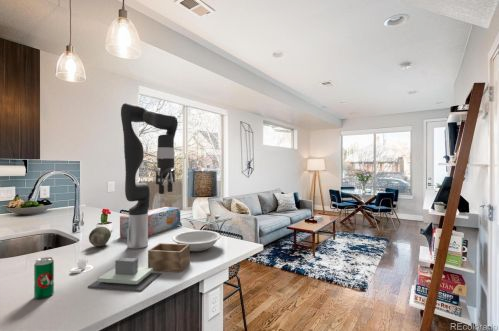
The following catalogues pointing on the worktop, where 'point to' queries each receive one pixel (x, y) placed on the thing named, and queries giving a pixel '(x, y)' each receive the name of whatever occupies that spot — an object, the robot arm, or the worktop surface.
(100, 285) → the rubber mat
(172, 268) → the walnut box
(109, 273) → the lid
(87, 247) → the worktop surface
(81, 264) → the teacup and saucer
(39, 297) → the soda can
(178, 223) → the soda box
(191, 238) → the white sink basin
